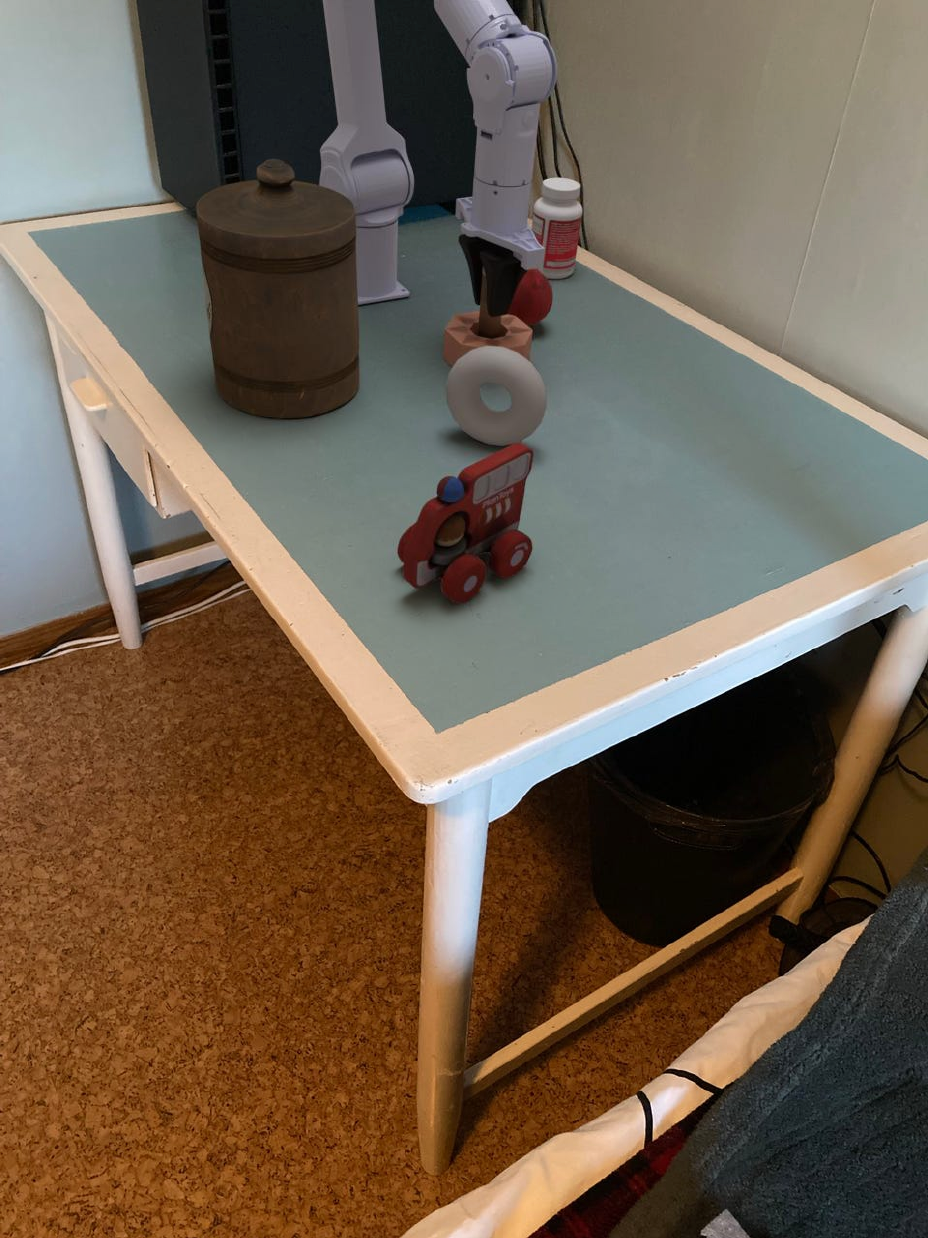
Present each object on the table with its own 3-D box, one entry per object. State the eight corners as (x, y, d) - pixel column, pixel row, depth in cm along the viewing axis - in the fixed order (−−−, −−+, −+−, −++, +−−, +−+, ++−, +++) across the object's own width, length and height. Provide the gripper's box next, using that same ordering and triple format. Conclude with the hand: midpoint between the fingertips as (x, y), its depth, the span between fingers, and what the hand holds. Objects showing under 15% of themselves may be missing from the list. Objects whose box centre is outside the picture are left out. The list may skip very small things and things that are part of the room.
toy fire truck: (378, 577, 79) (379, 471, 72) (487, 521, 86) (498, 420, 79) (433, 622, 76) (440, 516, 69) (543, 561, 82) (560, 458, 75)
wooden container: (273, 336, 108) (258, 125, 93) (385, 374, 104) (388, 158, 89) (185, 391, 98) (152, 165, 83) (305, 436, 94) (293, 205, 79)
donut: (544, 445, 96) (557, 352, 89) (534, 462, 93) (547, 368, 86) (449, 421, 98) (455, 329, 91) (437, 438, 95) (443, 344, 88)
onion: (549, 319, 116) (558, 254, 111) (547, 341, 112) (556, 274, 106) (501, 314, 116) (507, 248, 111) (497, 336, 112) (504, 268, 107)
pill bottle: (581, 269, 128) (595, 182, 120) (560, 284, 124) (572, 196, 116) (540, 257, 130) (551, 171, 122) (518, 271, 126) (528, 183, 118)
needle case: (473, 331, 106) (478, 259, 101) (492, 327, 107) (499, 256, 102) (484, 341, 104) (490, 269, 99) (504, 337, 105) (511, 265, 100)
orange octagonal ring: (432, 347, 109) (433, 318, 106) (500, 334, 112) (503, 305, 110) (470, 385, 103) (473, 355, 101) (541, 369, 107) (545, 340, 104)
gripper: (432, 156, 97) (427, 286, 107) (505, 207, 88) (492, 344, 98) (493, 150, 100) (482, 277, 109) (569, 198, 91) (551, 332, 100)
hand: (491, 308), depth 104 cm, fingers closed on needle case, 2 cm apart
